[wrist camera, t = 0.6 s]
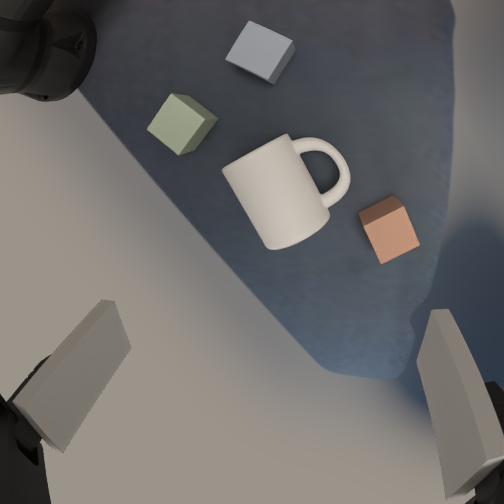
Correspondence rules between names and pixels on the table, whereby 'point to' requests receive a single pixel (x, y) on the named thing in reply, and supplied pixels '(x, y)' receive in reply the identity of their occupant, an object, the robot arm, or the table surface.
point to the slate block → (261, 52)
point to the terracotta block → (389, 229)
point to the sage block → (182, 123)
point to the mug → (285, 190)
